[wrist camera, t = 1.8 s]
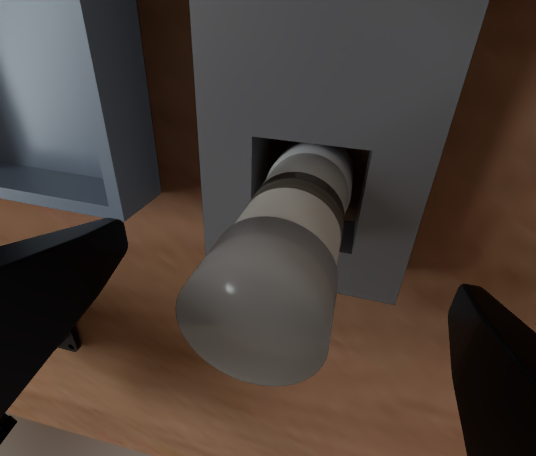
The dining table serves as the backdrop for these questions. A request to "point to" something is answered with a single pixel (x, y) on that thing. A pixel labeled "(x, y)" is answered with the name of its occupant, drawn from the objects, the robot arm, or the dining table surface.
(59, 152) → the parts tray
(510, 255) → the dining table surface
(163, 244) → the dining table surface
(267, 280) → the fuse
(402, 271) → the fuse holder
